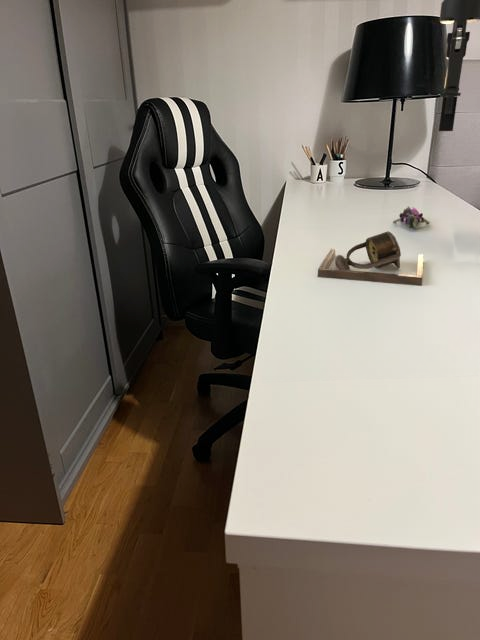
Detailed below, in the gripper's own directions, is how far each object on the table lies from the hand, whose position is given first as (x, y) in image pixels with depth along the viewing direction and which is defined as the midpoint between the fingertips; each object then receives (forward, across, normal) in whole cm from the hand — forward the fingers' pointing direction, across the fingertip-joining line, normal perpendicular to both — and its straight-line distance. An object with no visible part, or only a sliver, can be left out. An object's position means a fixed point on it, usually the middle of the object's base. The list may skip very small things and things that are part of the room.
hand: (445, 130), depth 104 cm
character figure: (+25, -19, -5) cm, 31 cm away
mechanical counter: (+25, +20, -12) cm, 34 cm away
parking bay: (+24, +20, -11) cm, 33 cm away
